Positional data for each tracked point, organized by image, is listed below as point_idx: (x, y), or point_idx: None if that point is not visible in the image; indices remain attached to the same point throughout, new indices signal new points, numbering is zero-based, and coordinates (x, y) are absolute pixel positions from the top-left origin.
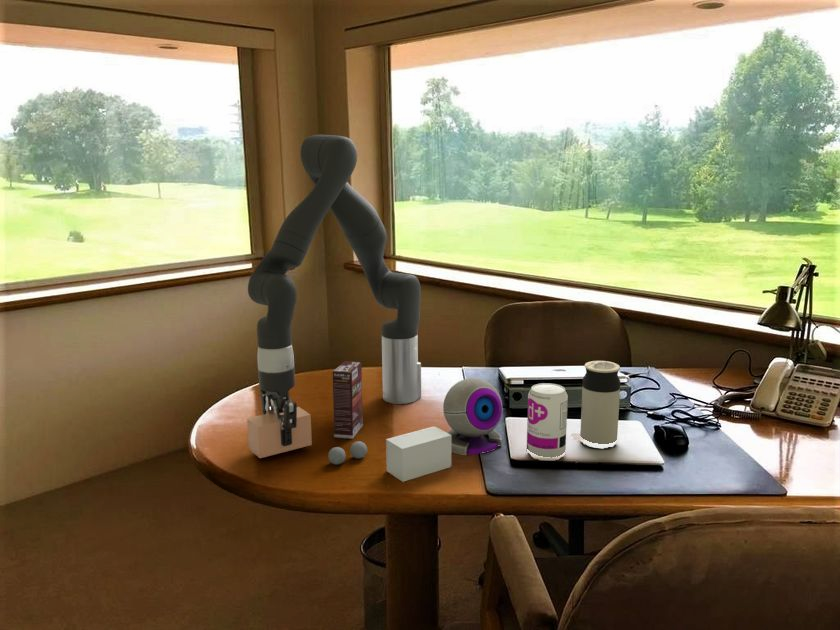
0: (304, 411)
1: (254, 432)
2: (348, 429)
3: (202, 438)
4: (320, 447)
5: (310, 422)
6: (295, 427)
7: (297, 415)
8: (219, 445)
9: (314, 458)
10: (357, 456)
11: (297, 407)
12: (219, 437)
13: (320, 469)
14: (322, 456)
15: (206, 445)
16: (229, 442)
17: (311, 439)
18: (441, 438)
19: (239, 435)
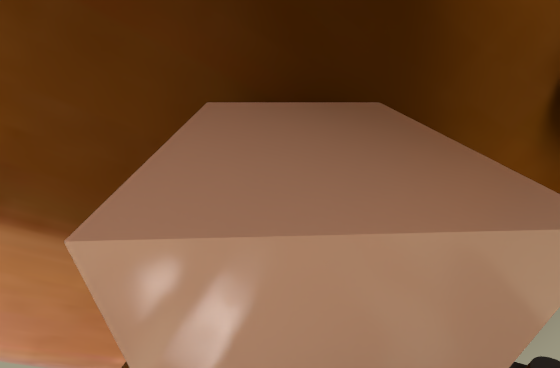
0: (407, 251)
1: None
2: None
3: (25, 356)
4: (357, 25)
5: (492, 165)
6: (557, 365)
7: (452, 358)
8: (109, 337)
9: (445, 126)
10: None
11: (113, 269)
12: (28, 325)
13: (551, 155)
14: (462, 80)
15: (95, 357)
16: (91, 314)
17: (394, 111)
18: None
19: (22, 278)
